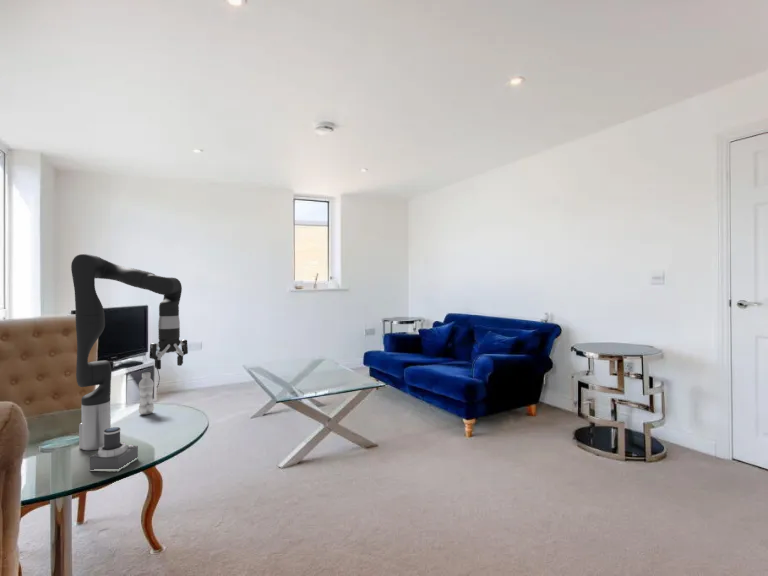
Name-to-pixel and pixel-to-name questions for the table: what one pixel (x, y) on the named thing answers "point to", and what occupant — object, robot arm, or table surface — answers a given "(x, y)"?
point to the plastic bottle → (146, 394)
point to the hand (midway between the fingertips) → (169, 367)
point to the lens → (112, 438)
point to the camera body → (113, 457)
